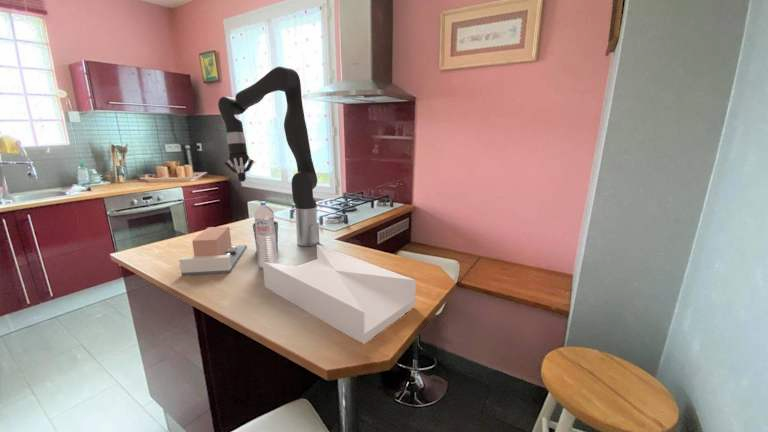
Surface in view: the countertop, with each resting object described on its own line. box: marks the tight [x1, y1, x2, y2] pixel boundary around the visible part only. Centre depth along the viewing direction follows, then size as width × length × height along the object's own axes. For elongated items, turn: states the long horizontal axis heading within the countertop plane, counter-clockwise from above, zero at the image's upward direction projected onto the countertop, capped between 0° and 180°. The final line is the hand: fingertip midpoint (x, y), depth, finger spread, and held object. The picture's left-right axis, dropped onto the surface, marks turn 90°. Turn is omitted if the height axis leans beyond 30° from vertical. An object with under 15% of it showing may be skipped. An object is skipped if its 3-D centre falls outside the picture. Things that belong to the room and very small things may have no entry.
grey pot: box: [252, 220, 279, 251], centre depth 135 cm, size 10×10×12 cm
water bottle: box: [253, 201, 278, 269], centre depth 118 cm, size 7×7×25 cm
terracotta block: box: [191, 226, 232, 256], centre depth 121 cm, size 16×8×8 cm, turn 10°
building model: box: [262, 243, 417, 345], centre depth 98 cm, size 45×22×10 cm, turn 51°
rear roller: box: [225, 245, 237, 254], centre depth 128 cm, size 13×3×3 cm
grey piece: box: [178, 244, 248, 276], centre depth 124 cm, size 26×16×6 cm, turn 10°
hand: (242, 181), depth 145 cm, fingers closed
